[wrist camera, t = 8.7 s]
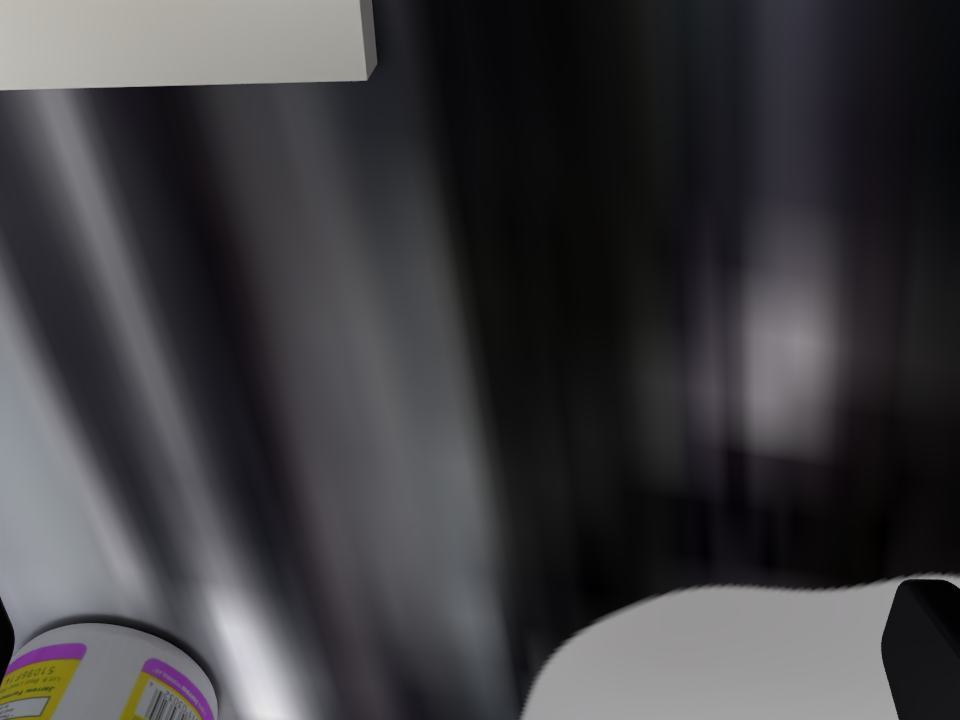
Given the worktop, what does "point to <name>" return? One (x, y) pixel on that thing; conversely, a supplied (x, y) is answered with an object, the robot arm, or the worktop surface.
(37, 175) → the worktop surface
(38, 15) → the baseplate
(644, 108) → the worktop surface
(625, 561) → the worktop surface
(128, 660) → the supplement bottle
